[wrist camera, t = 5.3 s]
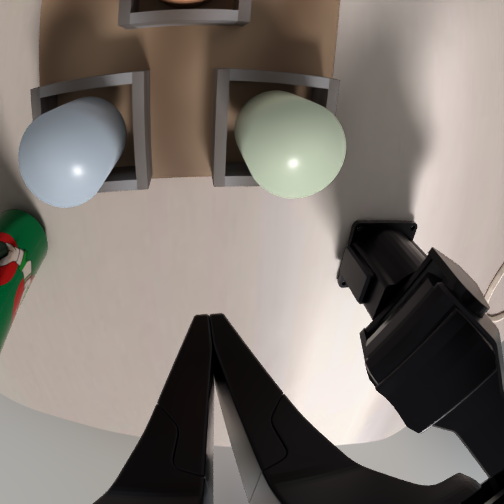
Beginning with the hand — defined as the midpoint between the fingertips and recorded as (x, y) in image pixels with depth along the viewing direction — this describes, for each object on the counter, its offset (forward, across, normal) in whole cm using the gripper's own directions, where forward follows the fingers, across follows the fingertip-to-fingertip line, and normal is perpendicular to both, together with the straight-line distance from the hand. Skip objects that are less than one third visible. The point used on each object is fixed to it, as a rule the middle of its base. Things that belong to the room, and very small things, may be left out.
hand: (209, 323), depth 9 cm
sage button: (+10, -4, -4) cm, 11 cm away
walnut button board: (+13, +1, -8) cm, 15 cm away
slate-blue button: (+10, +6, -4) cm, 12 cm away
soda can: (+13, +14, +4) cm, 20 cm away
